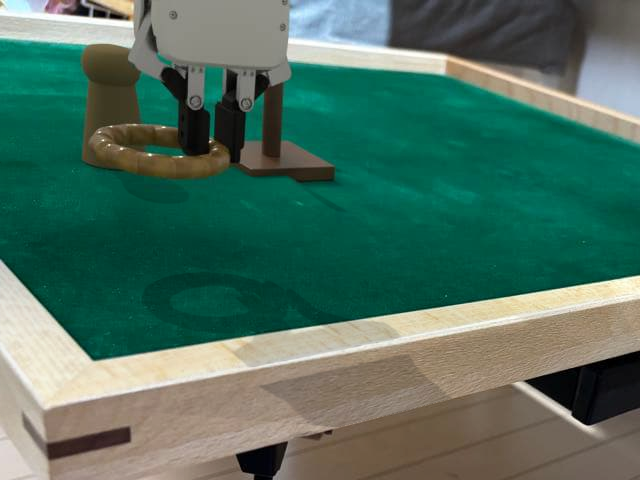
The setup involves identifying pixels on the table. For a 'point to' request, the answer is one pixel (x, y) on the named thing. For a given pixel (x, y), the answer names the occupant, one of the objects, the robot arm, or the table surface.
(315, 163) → the post
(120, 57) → the cork
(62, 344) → the table surface
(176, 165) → the ring
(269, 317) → the table surface
